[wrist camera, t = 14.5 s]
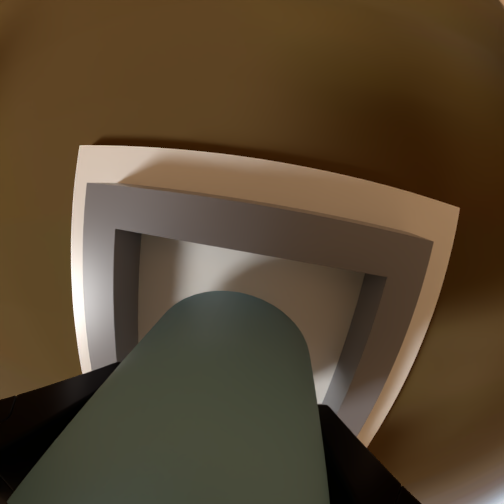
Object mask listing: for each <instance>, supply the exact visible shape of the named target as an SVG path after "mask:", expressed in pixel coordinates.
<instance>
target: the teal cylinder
mask: <svg viewBox="0 0 504 504" xmlns="http://www.w3.org/2000/svg"><path fill="white" fill-rule="evenodd" d="M7 504H330V499H329V490H328V481H327V472H326V463H325V455H324V447H323V440H322V432H321V425H320V418H319V411H318V404H317V397H316V391H315V384H314V378H313V372H312V366H311V360H310V354H309V350H308V346H307V343H306V341H305V339H304V336H303V335H302V333H301V331H300V330H299V328H298V327H297V326H296V324H295V323H294V322H293V321H292V320H291V319H290V318H289V317H288V316H287V315H286V314H285V313H284V312H282V311H281V310H280V309H278V308H277V307H275V306H274V305H272V304H270V303H268V302H266V301H264V300H262V299H260V298H257V297H254V296H252V295H248V294H244V293H240V292H233V291H210V292H203V293H199V294H195V295H192V296H190V297H187V298H185V299H183V300H181V301H179V302H178V303H176V304H175V305H173V306H172V307H171V308H170V309H168V311H167V312H166V313H165V314H164V315H163V316H162V317H161V318H160V319H159V321H158V322H157V323H156V324H155V325H154V326H153V327H152V328H151V329H150V331H149V332H148V333H147V334H146V335H145V336H144V337H143V338H142V340H141V341H140V342H139V343H138V344H137V345H136V346H135V347H134V349H133V350H132V351H131V352H130V353H129V354H128V355H127V357H126V358H125V359H124V360H123V361H122V362H121V363H120V365H119V366H118V367H117V368H116V369H115V370H114V371H113V373H112V374H111V375H110V376H109V377H108V378H107V379H106V381H105V382H104V383H103V384H102V385H101V386H100V388H99V389H98V390H97V391H96V392H95V393H94V395H93V396H92V397H91V398H90V399H89V400H88V402H87V403H86V404H85V405H84V406H83V408H82V409H81V410H80V411H79V412H78V413H77V415H76V416H75V417H74V418H73V419H72V421H71V422H70V423H69V424H68V425H67V427H66V428H65V429H64V430H63V431H62V433H61V434H60V435H59V436H58V437H57V439H56V440H55V441H54V442H53V444H52V445H51V446H50V447H49V448H48V450H47V451H46V452H45V453H44V455H43V456H42V457H41V458H40V460H39V461H38V462H37V463H36V465H35V466H34V467H33V468H32V470H31V471H30V472H29V473H28V475H27V476H26V477H25V478H24V480H23V481H22V482H21V483H20V485H19V486H18V487H17V489H16V490H15V491H14V492H13V494H12V495H11V496H10V498H9V499H8V500H7Z"/></svg>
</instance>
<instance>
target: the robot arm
mask: <svg viewBox="0 0 504 504" xmlns="http://www.w3.org/2000/svg"><path fill="white" fill-rule="evenodd" d="M120 363H121V362H120V361H118V362H115V363H112V364H109V365H107V366H104V367H101V368H98V369H96V370H93V371H90V372H87V373H84V374H81V375H78V376H76V377H73V378H70V379H67V380H64V381H61V382H58V383H55V384H51V385H48V386H45V387H42V388H39V389H36V390H32V391H29V392H26V393H23V394H19V395H17V396H12V397H9V398H5V399H1V400H0V504H7V500H8V499H9V498H10V496H11V495H12V494H13V492H14V491H15V490H16V489H17V487H18V486H19V485H20V483H21V482H22V481H23V480H24V478H25V477H26V476H27V475H28V473H29V472H30V471H31V470H32V468H33V467H34V466H35V465H36V463H37V462H38V461H39V460H40V458H41V457H42V456H43V455H44V453H45V452H46V451H47V450H48V448H49V447H50V446H51V445H52V444H53V442H54V441H55V440H56V439H57V437H58V436H59V435H60V434H61V433H62V431H63V430H64V429H65V428H66V427H67V425H68V424H69V423H70V422H71V421H72V419H73V418H74V417H75V416H76V415H77V413H78V412H79V411H80V410H81V409H82V408H83V406H84V405H85V404H86V403H87V402H88V400H89V399H90V398H91V397H92V396H93V395H94V393H95V392H96V391H97V390H98V389H99V388H100V386H101V385H102V384H103V383H104V382H105V381H106V379H107V378H108V377H109V376H110V375H111V374H112V373H113V371H114V370H115V369H116V368H117V367H118V366H119V365H120ZM318 411H319V418H320V425H321V432H322V440H323V447H324V455H325V463H326V472H327V481H328V490H329V499H330V504H421V503H420V502H419V501H418V500H417V499H416V498H415V497H414V496H413V495H412V494H411V493H410V492H409V491H408V490H407V489H406V488H405V487H404V486H401V484H400V482H399V481H398V480H397V479H396V478H395V477H394V476H393V475H392V474H391V473H390V472H389V471H388V470H387V469H386V468H385V467H384V466H383V465H382V464H381V463H380V462H379V461H378V460H377V458H376V457H375V456H374V455H373V454H372V453H371V452H370V451H369V450H368V449H367V448H366V447H365V446H364V444H363V443H362V442H361V441H360V440H359V439H358V438H357V437H356V436H355V435H354V434H353V432H352V431H351V430H350V429H349V428H348V427H347V426H346V425H345V424H344V422H343V421H342V420H341V419H340V418H339V417H338V416H337V415H336V413H335V412H334V411H333V410H332V409H331V408H330V407H329V406H328V405H325V404H318Z"/></svg>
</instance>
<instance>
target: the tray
mask: <svg viewBox="0 0 504 504" xmlns="http://www.w3.org/2000/svg"><path fill="white" fill-rule="evenodd" d="M459 211H460V208H459V207H456V206H453V205H450V204H447V203H444V202H441V201H438V200H435V199H431V198H428V197H425V196H422V195H418V194H415V193H412V192H408V191H405V190H401V189H398V188H394V187H391V186H387V185H383V184H379V183H375V182H372V181H368V180H364V179H359V178H355V177H351V176H347V175H342V174H338V173H333V172H329V171H324V170H319V169H314V168H309V167H304V166H299V165H293V164H288V163H282V162H276V161H270V160H264V159H257V158H250V157H243V156H236V155H228V154H220V153H212V152H203V151H193V150H182V149H170V148H155V147H137V146H107V145H80V147H79V153H78V160H77V167H76V175H75V184H74V195H73V208H72V227H71V277H72V296H73V309H74V319H75V328H76V336H77V344H78V350H79V357H80V363H81V368H82V374H84V373H87V372H90V371H93V370H96V369H98V368H101V367H104V366H107V365H109V364H112V363H115V362H118V361H120V362H122V361H123V360H124V359H125V358H126V357H127V355H128V354H129V353H130V352H131V351H132V350H133V349H134V347H135V346H136V345H137V344H138V343H139V342H140V341H141V340H142V338H143V337H144V336H145V335H146V334H147V333H148V332H149V331H150V329H151V328H152V327H153V326H154V325H155V324H156V323H157V322H158V321H159V319H160V318H161V317H162V316H163V315H164V314H165V313H166V312H167V311H168V309H170V308H171V307H172V306H173V305H175V304H176V303H178V302H179V301H181V300H183V299H185V298H187V297H190V296H192V295H195V294H199V293H203V292H210V291H233V292H240V293H244V294H248V295H252V296H254V297H257V298H260V299H262V300H264V301H266V302H268V303H270V304H272V305H274V306H275V307H277V308H278V309H280V310H281V311H282V312H284V313H285V314H286V315H287V316H288V317H289V318H290V319H291V320H292V321H293V322H294V323H295V324H296V326H297V327H298V328H299V330H300V331H301V333H302V335H303V336H304V339H305V341H306V343H307V346H308V350H309V354H310V360H311V366H312V372H313V378H314V384H315V391H316V397H317V404H325V405H328V406H329V407H330V408H331V409H332V410H333V411H334V412H335V413H336V415H337V416H338V417H339V418H340V419H341V420H342V421H343V422H344V424H345V425H346V426H347V427H348V428H349V429H350V430H351V431H352V432H353V434H354V435H355V436H356V437H357V438H358V439H359V440H360V441H361V442H362V443H363V444H364V446H365V447H366V448H367V447H368V445H369V444H370V442H371V440H372V439H373V437H374V436H375V434H376V432H377V431H378V429H379V427H380V426H381V424H382V422H383V421H384V419H385V417H386V416H387V414H388V412H389V410H390V408H391V407H392V405H393V403H394V401H395V399H396V397H397V395H398V393H399V392H400V390H401V388H402V386H403V384H404V382H405V379H406V377H407V375H408V373H409V371H410V369H411V367H412V365H413V362H414V360H415V358H416V356H417V353H418V351H419V348H420V346H421V344H422V341H423V339H424V336H425V334H426V331H427V328H428V326H429V323H430V320H431V318H432V315H433V312H434V309H435V306H436V303H437V300H438V297H439V294H440V291H441V287H442V284H443V281H444V277H445V274H446V270H447V266H448V262H449V258H450V254H451V250H452V246H453V241H454V237H455V232H456V227H457V222H458V216H459Z"/></svg>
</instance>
